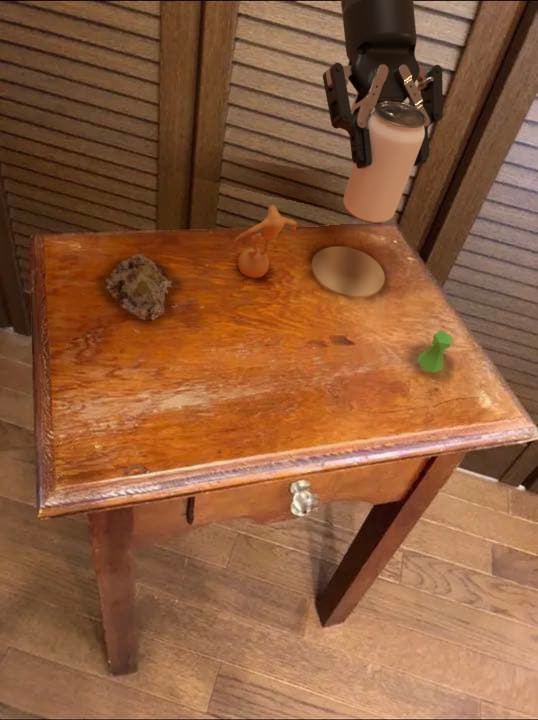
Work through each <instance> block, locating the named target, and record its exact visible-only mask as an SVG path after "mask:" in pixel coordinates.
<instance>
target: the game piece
mask: <svg viewBox="0 0 538 720" xmlns="http://www.w3.org/2000/svg"><path fill="white" fill-rule="evenodd" d="M431 341H432V342H431V344H432V346H430V347H428V348H426V350H423V351H422V352H421V353H419V355H418V358H417V362H418V364H419V365H420V366H421V368H422V369H423V370H425V371H427V372H429V373H432V374H434V373H438V372H442V371H443V367H444V352H445V351H444V350H447V349H449V348H451V345H452V341H453V336H452V335H450V334H449V333H447V332H446V331H444V330H441V331H438V332H435V333H434V334H433V338H432V340H431Z"/></svg>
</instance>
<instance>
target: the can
mask: <svg viewBox="0 0 538 720" xmlns="http://www.w3.org/2000/svg"><path fill="white" fill-rule="evenodd" d="M406 103H407V102H405V103H402V102H393V101H386V102H379V103H378V104H377V105H376V106H375V107H374V109H373V111H372V112H371V115H370V118H369V120H368V123H367V126H366V127H365V129H369V134H370V144H371V154H372V164H371V165H370V166H368V167H366V168H361V169H358V168H357V166H356V163H354V162H353V165H352V167H351V171H350V175H349V177H348V181H347V184H346V188H345V191H344V194H343V198H342V202H343V206H344V207H345V209H346V211H347V212H348V214H349V215H350V216H352V217H354V218H356V219H357V220H360V221H362V222H365V223H370V224H382V223H385V222H387V221H389V220H391V219H392V218H393V217H394V216H395V214H396V211H397V209H398V206H399V204H400V201H401V199H402V196H403V194H404V192H405V189H406V187H407V183H408V181H409V179H410V177H411V174H412V171H413V168H414V167H415V166H414V163H415V160H416V158H417V155H418V153H419V150H420V147H421V145H422V142H423V139H424V135H425V130H424V124H425V123H426V117H425V115H424V114H423V113H422V112H421V111H420V110H418V109H417V108H415V107H413V106H411V105H408V104H406Z"/></svg>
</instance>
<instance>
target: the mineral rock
mask: <svg viewBox="0 0 538 720" xmlns="http://www.w3.org/2000/svg"><path fill="white" fill-rule="evenodd" d="M166 275H167V272H166V270H165V269H164V268H162V267H161V266H160V265H159V264H158V263H155V262H154V261H152V260H151V259H150V258H148V257H147V256H146V255H144V254H143V253H135V254H134V255H132V256H131V257H129V258H127V259H125V260H121V261H120V263H119V264H118V265H117V266H115V268H114V269H113V270H112V271H111V272H110V276H111V278H106V280H105V283H107V284H108V285H106V286H105V289H106V290H107V291H108V292H109V294H110V296H111V298H113V299H115V300H116V304H118V306H120V308H124V309H125V312H127V313H129V314H130V315H129V316H131V315H132V316H133V317H137V318H138V319H139V320H142V321H146V320H150V321H154V320H155V319H158V318H160V317H162V316H164V314H165V313H166V311H165V310H166V309H165V302H166V296H168V294H169V290H168V289H171V288H173V285H174V284H173V282H174V281H172V280H170V279H168V278H167V277H166Z"/></svg>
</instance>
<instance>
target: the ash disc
mask: <svg viewBox="0 0 538 720" xmlns="http://www.w3.org/2000/svg"><path fill="white" fill-rule="evenodd" d="M310 270H311V272H312V275H313V277H314V279H315V280H316V281H317V282H318V284H320V285H321V286H322V287H323V288H324V289H326V290H327V291H330V292H332V293H333V294H336V295H339V296H342V297H345V298H350V299H365V298H368V297H372V296H374V295H376V294H377V293H379V292H380V291H381V290H382V288H383V286H384V284H385V279H386V277H385V273H384V270H383V268H382V266H381V265H380V264H379V262H378V261H377V260H375V258H373V257H372V256H370V255H369V254H368V253H366V252H364V251H361V250H359V249H356V248H352V247H348V246H340V245H338V246H335V245H334V246H328V247H325V248H322V249H321V250H319V251H317V252H316V253H315V254H314V256H313V258H312V259H311V265H310Z"/></svg>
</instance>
